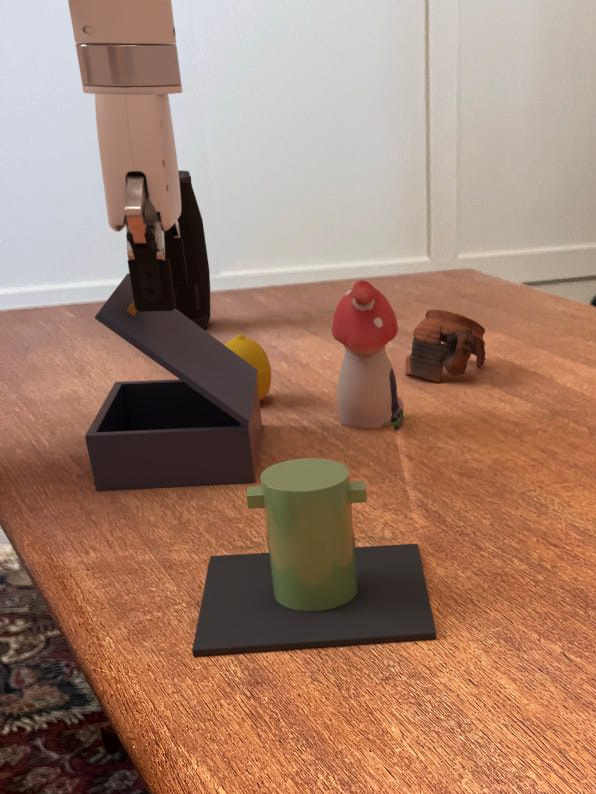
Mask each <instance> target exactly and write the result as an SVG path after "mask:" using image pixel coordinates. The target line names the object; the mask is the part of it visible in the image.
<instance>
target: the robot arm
mask: <svg viewBox="0 0 596 794" xmlns="http://www.w3.org/2000/svg"><path fill="white" fill-rule="evenodd" d="M67 3H68V8H69V14H70V20H71V26H72V33H73V37H74V38H73V39H74V43H75V50H76V57H77V62H78V68H79V73H80V74H79V75H80V79H81V86H82V92H83V93H84V94H93V95H94V105H95V107H94V108H95V123H96V134H97V143H98V151H99V159H100V166H101V167H100V168H101V175H102V181H103V190H104V198H105V206H106V215H107V221H108V226H109V227H110V228H111V229H112V230H113V231H115V232H119V233H121V231H123V229H124V228H125V230H126V231H125V232H126V233H125V234H126V235H125V236H126V254H127V266H128V273H129V274H130V280H131V286H132V292H133V298H134V305H135V309H136V310H137V311H140V312H146V311H172V310H174V308H175V306H176V304H175V297H174V290H173V286H185V285H186V284H187V282H188V279H187V271H186V263H185V256H184V248H183V241H182V238H180V229H179V224H178V220H177V219H178V218H179V216H180V214H181V193H180V182H179V172H178V170H179V164H178V163H179V162H178V155H177V149H176V141H175V140H176V139H175V132H174V126H173V120H172V119H173V117H172V111H171V105H170V99H169V95H172V94H173V95H174V94H182V93H183V85H182V77H181V76H182V75H181V69H180V60H179V52H178V45H177V37H176V28H175V21H174V13H173V11H174V10H173V3H172V0H67Z"/></svg>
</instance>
